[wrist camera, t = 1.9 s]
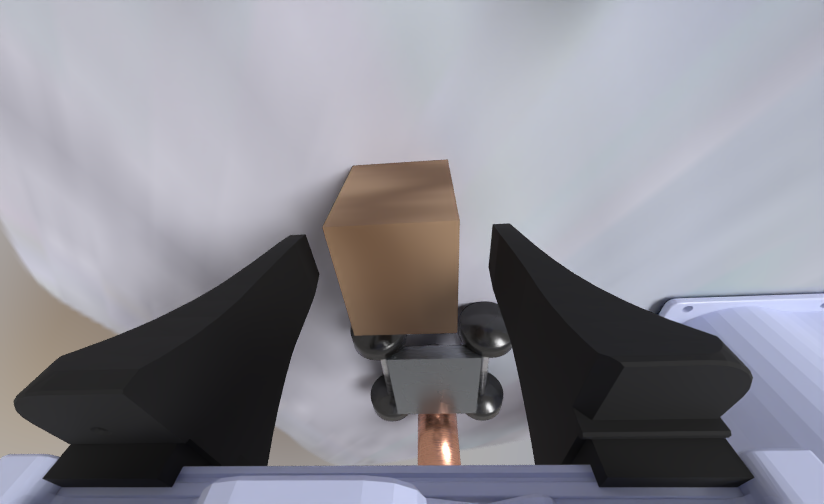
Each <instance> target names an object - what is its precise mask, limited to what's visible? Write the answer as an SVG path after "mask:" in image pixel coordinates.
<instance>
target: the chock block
mask: <svg viewBox="0 0 824 504" xmlns="http://www.w3.org/2000/svg"><path fill="white" fill-rule="evenodd" d="M459 226H460V220H459V215H458V210H457V204H456V199H455V194H454V189H453V184H452V179H451V174H450V169H449V163H448V160H433V161H417V162H402V163H387V164H371V165H356V166H353V167H352V169H351V171H350V173H349V175H348V177H347V179H346V181H345V183H344V185H343V187H342V189H341V191H340V193H339V195H338V197H337V199H336V201H335V203H334V205H333V207H332V209H331V211H330V213H329V215H328V217H327V219H326V221H325V223H324V225H323V227H322V228H323V231H324V235H325V238H326V241H327V245H328V248H329V252H330V255H331V258H332V262H333V265H334V268H335V272H336V275H337V278H338V282H339V285H340V289H341V292H342V295H343V299H344V302H345V305H346V309H347V312H348V315H349V319H350V322H351V326H352V329H353V332H354V336H361V335H398V334H436V333H457V318H458V272H459Z"/></svg>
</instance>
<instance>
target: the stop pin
mask: <svg viewBox="0 0 824 504" xmlns="http://www.w3.org/2000/svg"><path fill="white" fill-rule="evenodd" d="M428 346H439V345H437V344H430V345H428ZM418 465H461V462H460V451H459V440H458V429H457V418H456V413H455V414H418Z"/></svg>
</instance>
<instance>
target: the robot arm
mask: <svg viewBox="0 0 824 504" xmlns="http://www.w3.org/2000/svg"><path fill="white" fill-rule="evenodd" d="M489 271H490V277H491V282H492V287H493V291H494V294H495V297H496V300H497V303H498V306H499V309H500V312H501V315H502V317H503V320H504V323H505V326H506V329H507V332H508V335H509V338H510V342H511V345H512V348H513V353H514V357H515V362H516V366H517V371H518V375H519V380H520V385H521V390H522V395H523V400H524V405H525V410H526V415H527V421H528V426H529V431H530V437H531V442H532V448H533V455H534V461H535V465H414V466H267V465H268V459H269V453H270V448H271V442H272V436H273V431H274V426H275V422H276V417H277V412H278V407H279V403H280V399H281V394H282V390H283V386H284V382H285V378H286V374H287V371H288V367H289V363H290V360H291V356H292V353H293V350H294V347H295V344H296V342H297V339H298V337H299V334H300V332H301V329H302V327H303V324H304V322H305V319H306V317H307V314H308V312H309V309H310V306H311V304H312V301H313V299H314V296H315V292H316V288H317V283H318V278H319V272H318V269H317V266H316V263H315V260H314V257H313V254H312V251H311V249H310V246H309V243H308V240H307V237H306V234H305V235H290V236H289V237H287V238H285V239H284V240H282V241H281V242H279V243H278V244H277V245H275V246H274V247H273V248H271V249H270V250H269V251H267V252H266V253H265V254H263V255H262V256H260V257H259V258H258V259H256V260H255V261H254V262H252V263H251V264H250V265H248V266H247V267H245V268H244V269H242V270H241V271H240V272H238V273H237V274H235V275H234V276H232V277H231V278H229V279H228V280H226V281H225V282H223V283H222V284H220V285H219V286H217V287H215V288H214V289H212V290H210V291H209V292H207V293H205V294H203V295H202V296H200V297H198V298H197V299H195V300H193V301H191V302H189V303H187V304H185V305H183V306H181V307H179V308H177V309H175V310H173V311H171V312H169V313H167V314H165V315H163V316H161V317H159V318H157V319H155V320H152V321H150V322H148V323H146V324H144V325H141V326H139V327H137V328H134V329H132V330H129V331H127V332H125V333H122V334H120V335H117V336H115V337H112V338H110V339H107V340H105V341H102V342H99V343H96V344H93V345H91V346H88V347H85V348H83V349H80V350H77V351H74V352H71V353H69V354H66V355H63V356H61V357H59V358H58V359H57V360H56V361H54V362H53V363H52V364H51V365H50V366H49V367H48V368H47V369H45V370H44V371H43V372H42V373H41V374H40V375H39V376H38V377H37V378H36V379H35V380H33V381H32V382H31V383H30V384H29V385H28V386H27V387H26V388H25V389H24V390H23V391H21V392H20V393H19V394H18V395H17V396H16V398H15V400H14V406H15V409H16V411H17V412H18V413H19V414H20V415H21V416H22V417H23V418H25V419H26V420H28V421H29V422H31V423H32V424H34V425H36V426H38V427H39V428H41V429H43V430H45V431H47V432H49V433H50V434H52V435H54V436H56V437H58V438H59V439H61V440H63V441H65V442H67V443H68V444H71V445H70V446H69V447H68V448H67V449H66V451H65V452H64V453H63V454H62V455H61V457H58V456H54V455H50V454H8V455H5V456H3V457H2V458H1V459H0V504H824V293H823V294H793V295H764V296H734V297H705V298H676V299H672V300H669V301H668V302H666V303H665V305H664V306H663V308H662V310H661V311H660V313H659V314H658V315H657V314H654V313H652V312H650V311H647V310H645V309H642V308H640V307H638V306H635V305H633V304H631V303H629V302H626V301H624V300H622V299H620V298H618V297H616V296H614V295H612V294H610V293H608V292H606V291H604V290H602V289H600V288H598V287H596V286H595V285H593V284H591V283H589V282H588V281H586V280H584V279H583V278H581V277H579V276H577V275H576V274H574V273H573V272H571V271H570V270H568V269H566V268H565V267H564V266H562V265H561V264H559V263H558V262H556V261H555V260H554V259H552V258H551V257H550V256H548V255H547V254H546V253H544V252H543V251H542V250H540V249H539V248H538V247H537V246H536V245H534V244H533V243H532V242H531V241H529V240H528V239H527V238H526V237H525V236H524V235H522V234H521V233H520V232H519V231H518V230H517V229H515V228H514V227H513V226H512V225H511V224H493V228H492V238H491V248H490V258H489Z"/></svg>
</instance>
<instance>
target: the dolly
mask: <svg viewBox="0 0 824 504" xmlns="http://www.w3.org/2000/svg"><path fill="white" fill-rule="evenodd" d="M459 335H460V339H461V341H462V343H463V344H464V345H453V346H414V347H403V345H404V343H405V341H406V334H398V335H361V336H354V332H353V329H352V326H351V336H352V339H353V343H354V346H355V349H356V350H357V352H358V353H359V354H360V355H361V356H363V357H364V358H367V359H370V360H380V361H381V365H382V369H383V374H384V375H382V376H381V377H379V378H378V379H377V380H376V381H375V383H374V384H373V386H372V389H371V401H372V404H373V407H374V410H375V412H376V413H377V415H378V416H379V417H381V418H382V419H384V420H387V421H398V420H401V419H403V418H404V417H406V416H407V415H408V414H455V413H466V414H467V415H468V416H469V417H471V418H473V419H476V420H489V419H492V418H493V417H495V416H496V415H497V414H498V413H499V411H500V409H501V405H502V400H503V389H502V386H501V384H500V382H499V381H498V380H497V379H496V378H495V377H494V376H493V375H491V374H490V373H488V372H487V370H488V363H489V358H493V357H499V356H502V355H504V354H506V353H507V352H509V351H510V350H511V348H512V345H511V342H510V338H509V335H508V332H507V329H506V326H505V323H504V320H503V317H502V315H501V312H500V309H499V306H498V304H496V303H492V302H478V303H474V304H471V305H470V306H468V307H467V308H465V309H464V310H463V312H462V314H461V316H460V328H459Z"/></svg>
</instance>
